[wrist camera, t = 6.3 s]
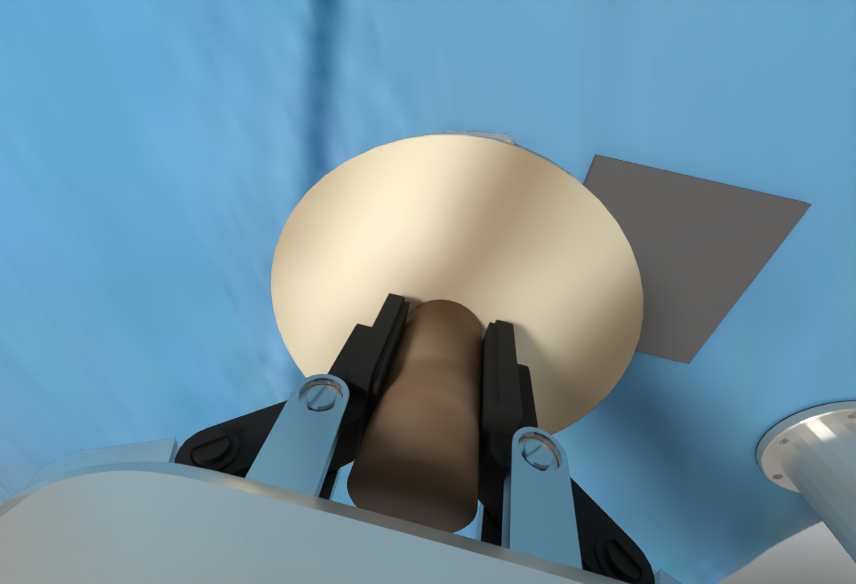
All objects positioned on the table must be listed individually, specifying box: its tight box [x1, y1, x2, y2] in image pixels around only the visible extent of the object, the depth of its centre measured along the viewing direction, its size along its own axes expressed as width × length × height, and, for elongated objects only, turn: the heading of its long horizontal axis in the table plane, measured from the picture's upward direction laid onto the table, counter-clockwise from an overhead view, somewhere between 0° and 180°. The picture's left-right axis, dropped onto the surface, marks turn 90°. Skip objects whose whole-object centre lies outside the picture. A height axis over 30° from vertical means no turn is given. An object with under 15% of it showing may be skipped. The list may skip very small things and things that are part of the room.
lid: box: [271, 133, 643, 533], centre depth 10 cm, size 13×13×7 cm
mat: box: [583, 154, 812, 364], centre depth 28 cm, size 15×15×1 cm
